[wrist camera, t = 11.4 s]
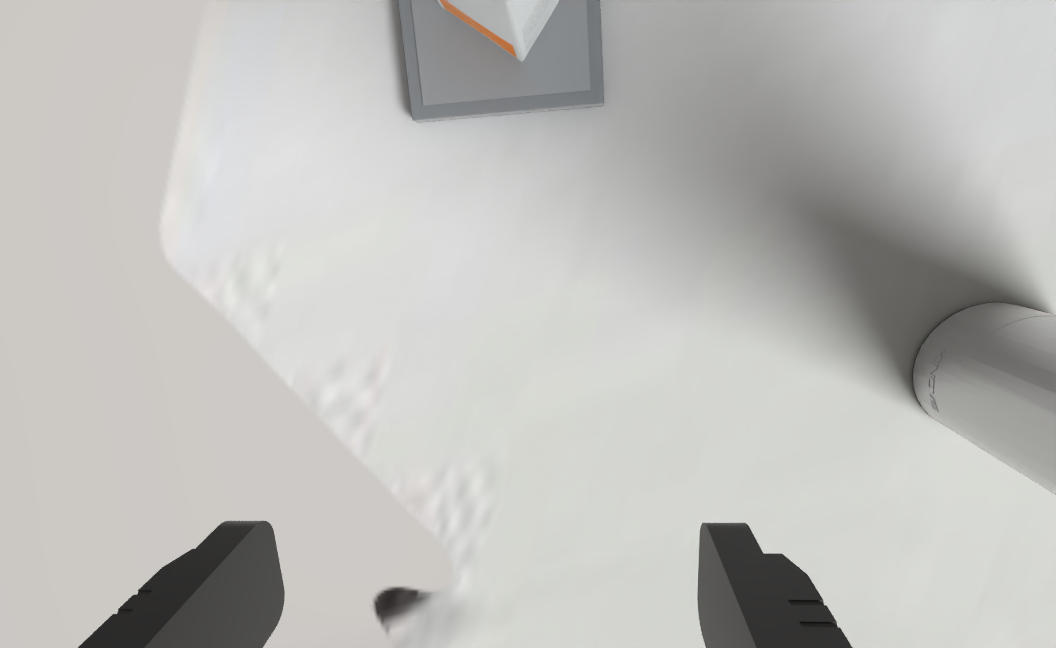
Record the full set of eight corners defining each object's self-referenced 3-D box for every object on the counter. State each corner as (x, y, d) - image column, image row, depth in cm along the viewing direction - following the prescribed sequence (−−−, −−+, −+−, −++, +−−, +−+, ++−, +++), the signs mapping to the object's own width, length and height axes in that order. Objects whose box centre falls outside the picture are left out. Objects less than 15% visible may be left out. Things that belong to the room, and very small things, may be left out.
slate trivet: (593, -113, 32) (594, -125, 31) (602, 105, 35) (604, 102, 34) (392, -89, 33) (385, -100, 32) (417, 122, 36) (412, 120, 34)
